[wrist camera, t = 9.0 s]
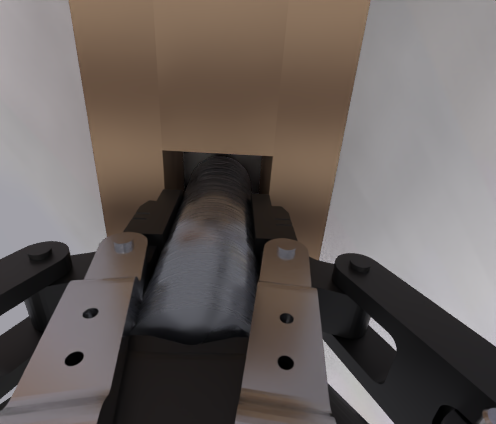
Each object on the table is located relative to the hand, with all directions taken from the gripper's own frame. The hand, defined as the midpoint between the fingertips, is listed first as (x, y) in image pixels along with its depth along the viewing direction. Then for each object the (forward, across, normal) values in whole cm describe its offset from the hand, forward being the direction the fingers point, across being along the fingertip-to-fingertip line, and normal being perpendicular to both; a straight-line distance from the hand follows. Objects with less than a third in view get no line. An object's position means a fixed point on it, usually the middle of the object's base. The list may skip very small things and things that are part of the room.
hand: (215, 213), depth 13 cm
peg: (+3, 0, 0) cm, 3 cm away
